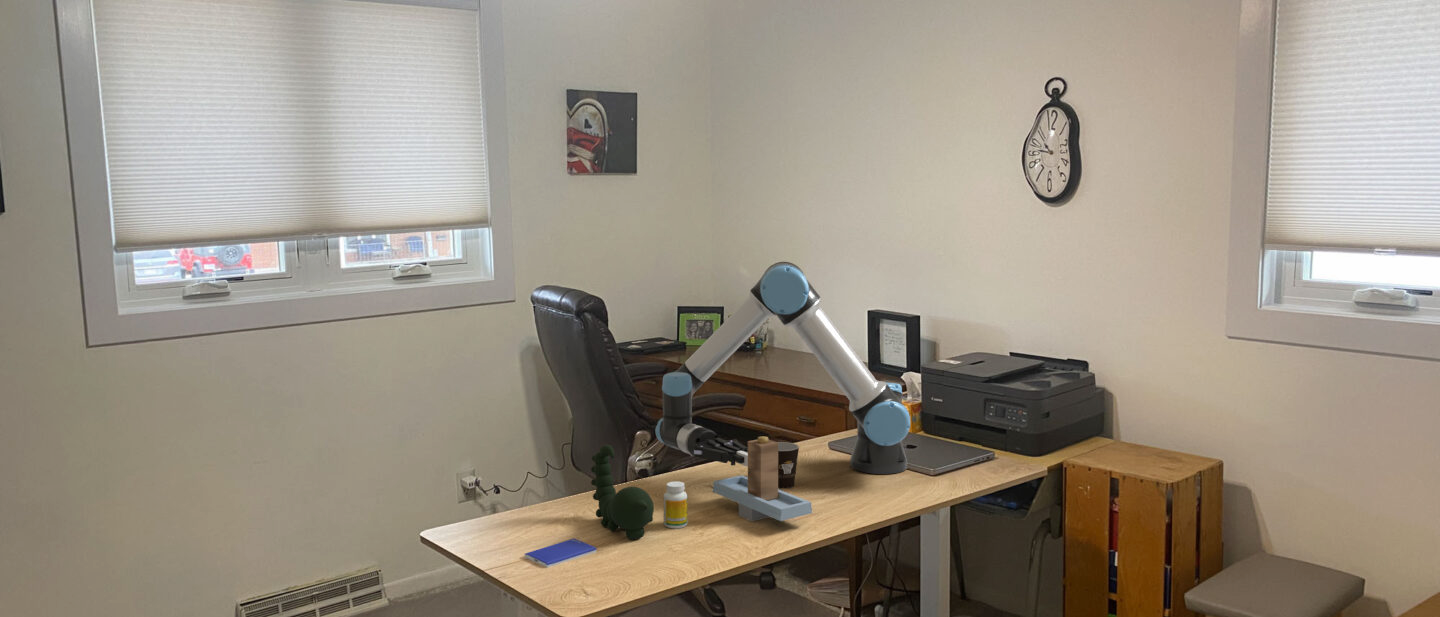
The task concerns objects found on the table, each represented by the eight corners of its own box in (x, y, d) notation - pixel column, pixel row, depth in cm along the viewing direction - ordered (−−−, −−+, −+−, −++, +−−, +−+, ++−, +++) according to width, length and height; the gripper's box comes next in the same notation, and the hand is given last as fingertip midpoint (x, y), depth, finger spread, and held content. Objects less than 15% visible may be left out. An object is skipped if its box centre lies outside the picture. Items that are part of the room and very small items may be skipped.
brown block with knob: (747, 496, 239) (747, 437, 237) (764, 492, 242) (764, 434, 240) (760, 501, 235) (761, 441, 233) (778, 497, 238) (778, 438, 236)
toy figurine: (583, 525, 237) (628, 550, 216) (578, 444, 236) (623, 460, 215) (620, 519, 242) (668, 542, 220) (616, 439, 241) (664, 454, 219)
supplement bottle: (660, 523, 234) (659, 482, 233) (681, 519, 236) (681, 479, 235) (669, 530, 229) (669, 488, 228) (691, 526, 232) (691, 485, 230)
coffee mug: (799, 480, 267) (799, 442, 265) (798, 490, 258) (798, 451, 257) (754, 479, 268) (754, 441, 267) (751, 489, 259) (751, 450, 258)
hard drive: (573, 537, 222) (524, 552, 213) (596, 547, 216) (547, 563, 208) (573, 544, 222) (524, 559, 214) (596, 554, 216) (547, 570, 208)
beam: (712, 503, 248) (712, 481, 247) (742, 497, 253) (742, 474, 252) (780, 534, 227) (780, 509, 226) (811, 526, 232) (812, 502, 231)
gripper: (719, 452, 263) (777, 473, 244) (676, 460, 255) (732, 483, 236) (719, 423, 262) (777, 442, 243) (676, 430, 255) (732, 451, 235)
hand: (755, 462), depth 240 cm, fingers closed
